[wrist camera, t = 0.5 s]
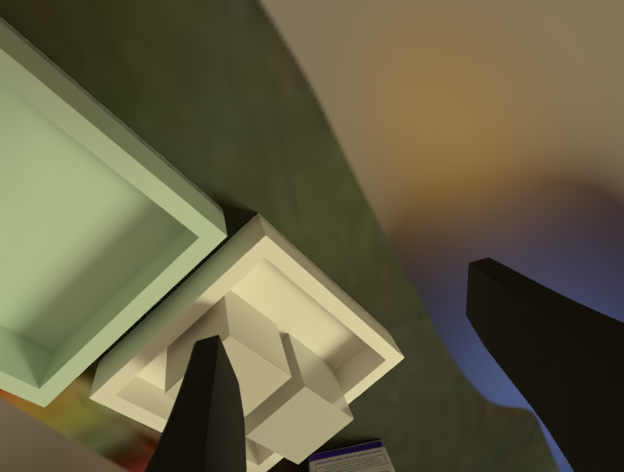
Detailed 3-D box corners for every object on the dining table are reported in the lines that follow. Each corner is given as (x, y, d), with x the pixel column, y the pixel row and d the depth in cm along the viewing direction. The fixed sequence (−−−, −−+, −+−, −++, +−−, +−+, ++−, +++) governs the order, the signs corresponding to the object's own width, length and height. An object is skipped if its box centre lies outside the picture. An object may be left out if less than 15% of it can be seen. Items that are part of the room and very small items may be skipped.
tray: (253, 442, 28) (258, 478, 26) (98, 361, 22) (88, 398, 20) (386, 330, 27) (404, 357, 24) (257, 212, 21) (265, 235, 19)
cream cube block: (283, 406, 26) (298, 464, 23) (237, 377, 24) (245, 436, 21) (331, 365, 26) (353, 418, 22) (288, 333, 24) (305, 386, 21)
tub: (61, 361, 22) (44, 407, 19) (-221, 220, 16) (-298, 259, 14) (222, 208, 20) (227, 236, 18) (-26, -7, 15) (-71, -11, 12)
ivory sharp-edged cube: (224, 370, 24) (230, 429, 21) (168, 334, 22) (164, 394, 19) (276, 324, 23) (291, 377, 20) (223, 284, 22) (229, 335, 18)
